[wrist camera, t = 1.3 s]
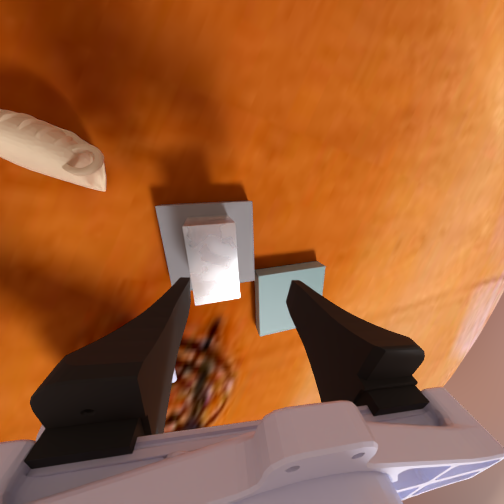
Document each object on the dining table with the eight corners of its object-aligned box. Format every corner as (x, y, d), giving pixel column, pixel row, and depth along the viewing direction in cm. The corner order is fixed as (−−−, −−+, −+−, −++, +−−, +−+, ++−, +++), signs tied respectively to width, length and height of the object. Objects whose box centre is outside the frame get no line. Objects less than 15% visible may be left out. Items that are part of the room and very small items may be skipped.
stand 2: (256, 326, 27) (259, 336, 25) (254, 269, 24) (258, 276, 22) (311, 314, 29) (319, 322, 27) (316, 260, 26) (325, 266, 24)
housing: (197, 279, 20) (195, 305, 16) (187, 217, 18) (182, 226, 13) (232, 274, 21) (240, 297, 17) (227, 214, 19) (235, 222, 14)
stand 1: (175, 284, 22) (173, 293, 20) (159, 204, 19) (155, 206, 17) (250, 273, 24) (254, 280, 22) (247, 200, 21) (252, 201, 19)
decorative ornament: (14, 108, 14) (-87, 63, 9) (132, 158, 17) (103, 145, 12) (9, 159, 15) (-87, 144, 10) (122, 199, 18) (91, 202, 13)
